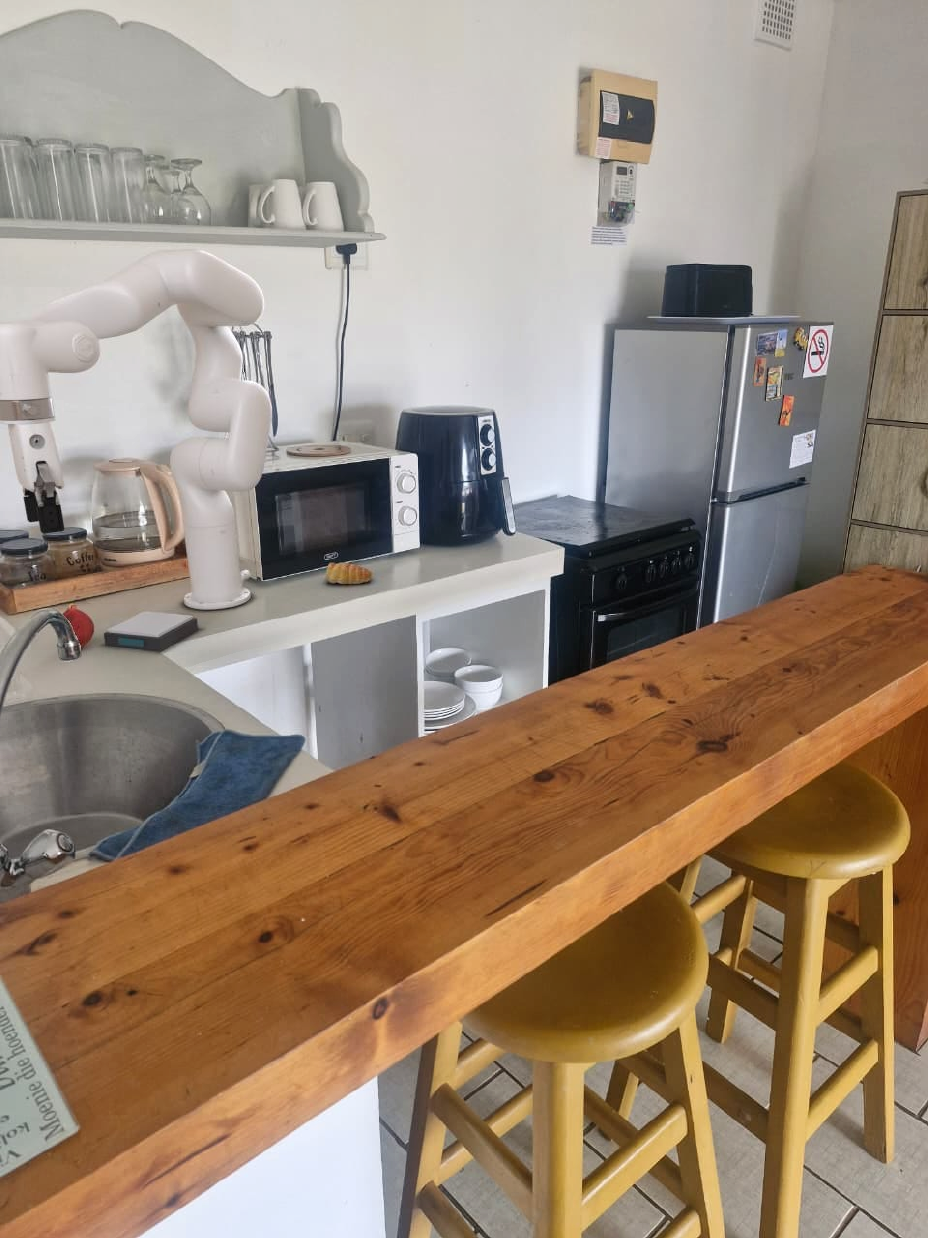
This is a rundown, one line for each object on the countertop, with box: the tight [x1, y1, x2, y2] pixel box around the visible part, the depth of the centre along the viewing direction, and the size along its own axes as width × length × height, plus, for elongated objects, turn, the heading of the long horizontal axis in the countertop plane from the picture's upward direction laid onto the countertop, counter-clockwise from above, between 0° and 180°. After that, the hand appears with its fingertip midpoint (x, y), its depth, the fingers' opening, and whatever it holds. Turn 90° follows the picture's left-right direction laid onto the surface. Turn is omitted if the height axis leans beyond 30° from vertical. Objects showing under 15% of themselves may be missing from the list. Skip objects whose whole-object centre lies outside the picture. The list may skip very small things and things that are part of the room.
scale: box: [103, 610, 199, 652], centre depth 150 cm, size 11×11×3 cm
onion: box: [62, 603, 95, 650], centre depth 144 cm, size 6×6×8 cm
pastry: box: [324, 562, 373, 585], centre depth 181 cm, size 9×7×4 cm
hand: (45, 526), depth 132 cm, fingers open, 9 cm apart
